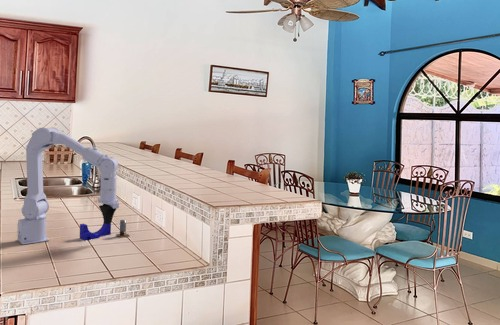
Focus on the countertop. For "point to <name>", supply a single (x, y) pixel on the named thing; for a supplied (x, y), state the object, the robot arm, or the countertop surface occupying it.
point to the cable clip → (88, 235)
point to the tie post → (122, 229)
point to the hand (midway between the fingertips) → (107, 223)
